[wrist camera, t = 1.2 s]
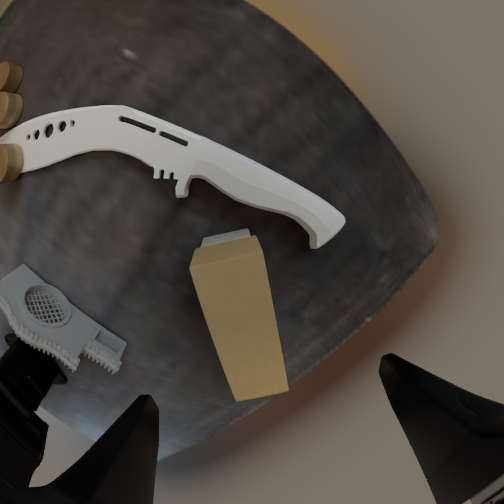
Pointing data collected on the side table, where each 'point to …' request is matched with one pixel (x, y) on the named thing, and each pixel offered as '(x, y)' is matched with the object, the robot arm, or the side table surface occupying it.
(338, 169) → the side table surface
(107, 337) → the garden wall model
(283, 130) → the side table surface
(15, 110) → the short tan cylinder
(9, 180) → the tan squat cylinder
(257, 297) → the oblong tan box
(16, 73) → the crumb
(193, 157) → the knife
